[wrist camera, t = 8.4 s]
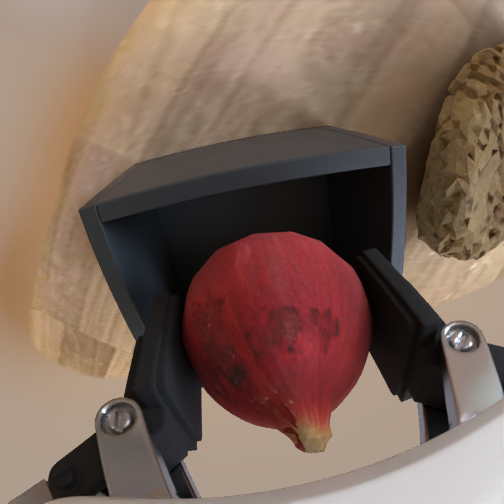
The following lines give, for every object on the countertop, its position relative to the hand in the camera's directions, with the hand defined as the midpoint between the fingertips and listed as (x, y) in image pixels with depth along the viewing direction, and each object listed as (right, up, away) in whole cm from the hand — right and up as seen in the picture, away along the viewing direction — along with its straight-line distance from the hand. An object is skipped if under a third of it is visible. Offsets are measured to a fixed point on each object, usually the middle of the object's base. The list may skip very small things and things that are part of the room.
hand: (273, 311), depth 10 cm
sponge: (+17, +11, +7) cm, 21 cm away
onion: (0, +1, +3) cm, 3 cm away
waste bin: (-1, +4, +8) cm, 9 cm away
